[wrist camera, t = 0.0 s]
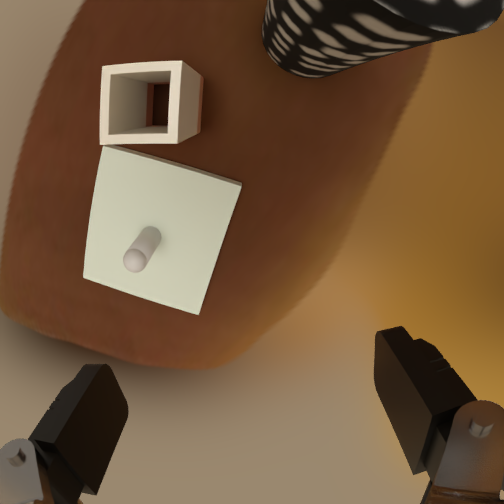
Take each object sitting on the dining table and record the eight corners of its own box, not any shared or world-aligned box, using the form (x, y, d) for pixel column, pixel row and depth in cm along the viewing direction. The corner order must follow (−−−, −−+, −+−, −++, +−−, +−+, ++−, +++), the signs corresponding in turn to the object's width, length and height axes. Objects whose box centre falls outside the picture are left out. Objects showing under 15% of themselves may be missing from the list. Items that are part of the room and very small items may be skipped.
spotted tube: (242, 25, 23) (236, -112, 5) (316, -18, 21) (405, -147, 3) (301, 95, 26) (411, 73, 8) (371, 50, 24) (533, 3, 6)
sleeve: (148, 78, 25) (102, 66, 16) (203, 77, 25) (182, 60, 16) (145, 131, 27) (99, 144, 18) (200, 132, 27) (177, 143, 18)
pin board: (109, 143, 27) (71, 156, 20) (241, 182, 29) (240, 206, 22) (88, 270, 32) (58, 308, 26) (200, 306, 34) (190, 353, 28)
